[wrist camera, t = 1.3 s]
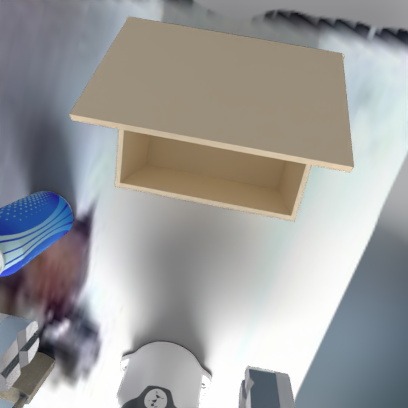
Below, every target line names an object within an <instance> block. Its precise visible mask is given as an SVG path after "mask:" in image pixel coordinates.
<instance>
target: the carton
mask: <svg viewBox="0 0 408 408" xmlns="http://www.w3.org/2000/svg"><path fill="white" fill-rule="evenodd" d="M127 19H128V17H127ZM344 56H345V55H343V59H344ZM311 166H312V165H308V164H302V163H297V162H292V161H286V160H281V159H276V158H270V157H265V156H260V155H254V154H249V153H244V152H238V151H233V150H228V149H222V148H217V147H212V146H206V145H201V144H196V143H190V142H185V141H180V140H174V139H169V138H164V137H158V136H153V135H148V134H142V133H137V132H132V131H126V130H121V129H119V134H118V148H117V163H116V177H115V187H120V188H125V189H130V190H135V191H140V192H146V193H151V194H156V195H161V196H166V197H171V198H176V199H181V200H187V201H192V202H197V203H202V204H207V205H212V206H217V207H222V208H228V209H233V210H238V211H243V212H248V213H253V214H258V215H264V216H269V217H274V218H279V219H284V220H289V221H294V222H295V219H296V216H297V213H298V209H299V206H300V203H301V199H302V196H303V193H304V189H305V186H306V183H307V179H308V176H309V173H310V169H311Z"/></svg>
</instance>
